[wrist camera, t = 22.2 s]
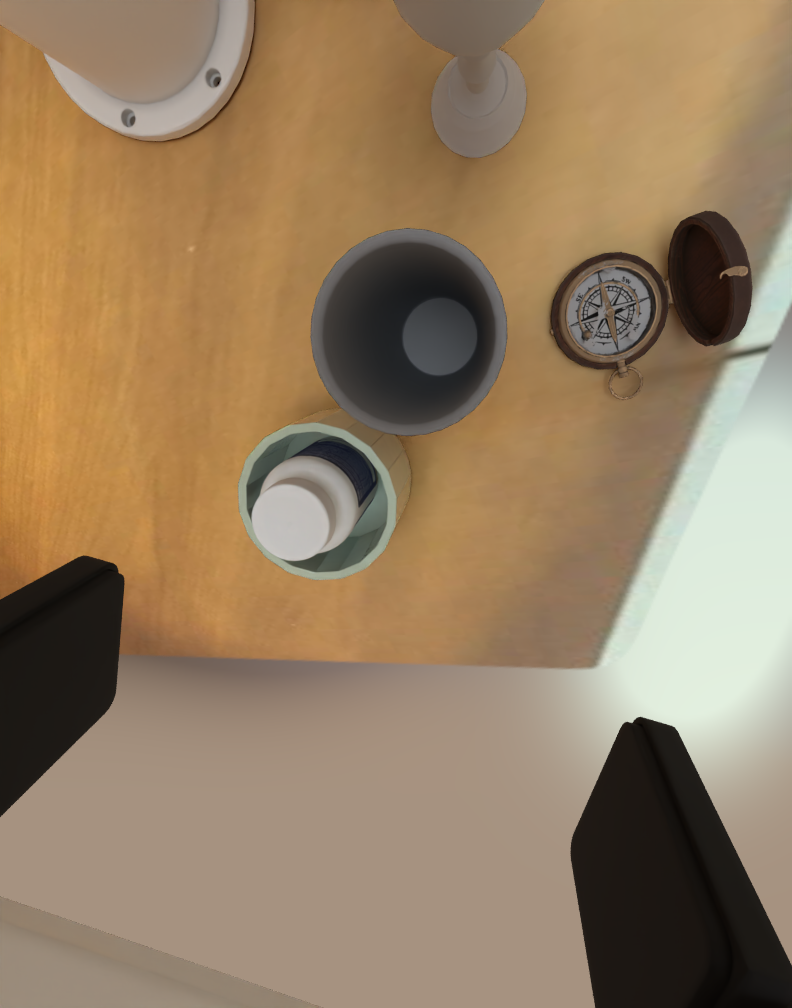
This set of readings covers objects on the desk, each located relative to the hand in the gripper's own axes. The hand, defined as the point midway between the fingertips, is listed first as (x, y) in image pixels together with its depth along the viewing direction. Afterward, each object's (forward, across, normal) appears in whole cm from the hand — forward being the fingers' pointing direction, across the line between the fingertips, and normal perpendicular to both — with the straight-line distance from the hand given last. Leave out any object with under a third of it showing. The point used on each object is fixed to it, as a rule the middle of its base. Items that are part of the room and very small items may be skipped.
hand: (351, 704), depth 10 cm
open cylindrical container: (+26, +6, +4) cm, 27 cm away
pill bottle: (+26, +6, +4) cm, 27 cm away
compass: (+26, -8, -9) cm, 29 cm away
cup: (+26, +2, -6) cm, 27 cm away
